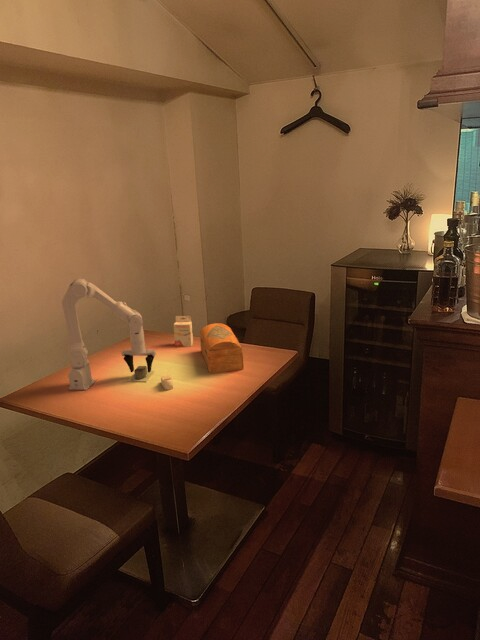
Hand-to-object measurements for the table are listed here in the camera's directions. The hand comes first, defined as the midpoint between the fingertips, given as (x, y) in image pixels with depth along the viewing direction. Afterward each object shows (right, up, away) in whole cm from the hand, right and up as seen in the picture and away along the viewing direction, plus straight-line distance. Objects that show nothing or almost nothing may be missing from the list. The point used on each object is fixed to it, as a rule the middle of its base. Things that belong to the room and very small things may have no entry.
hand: (140, 371), depth 200 cm
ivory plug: (+13, -5, -10) cm, 17 cm away
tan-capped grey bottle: (0, -2, +1) cm, 2 cm away
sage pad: (0, -2, +1) cm, 2 cm away
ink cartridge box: (+14, +9, +38) cm, 42 cm away
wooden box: (+34, +3, +16) cm, 38 cm away
